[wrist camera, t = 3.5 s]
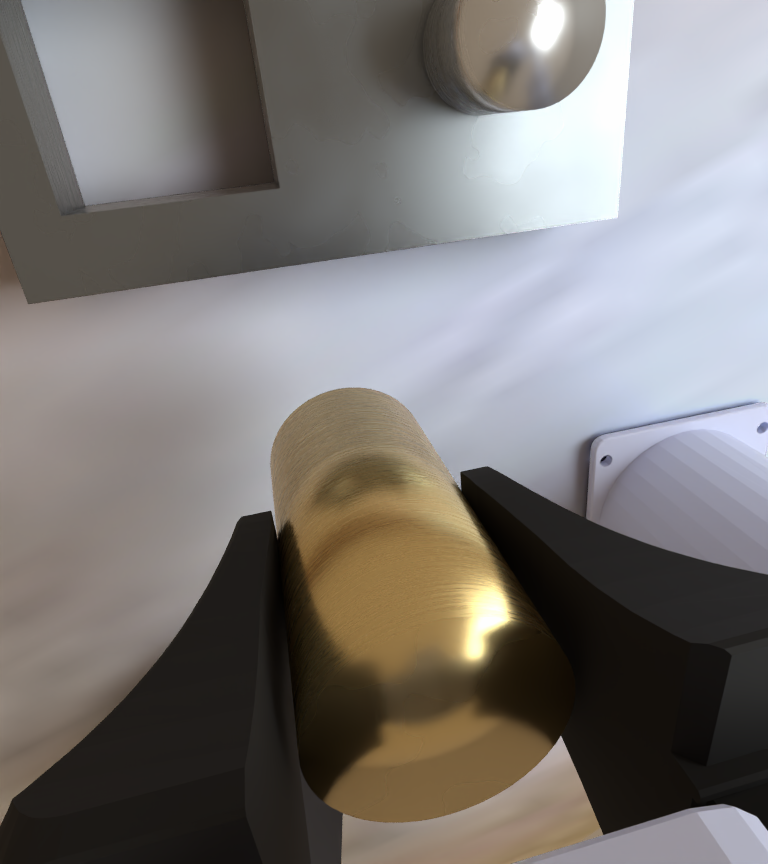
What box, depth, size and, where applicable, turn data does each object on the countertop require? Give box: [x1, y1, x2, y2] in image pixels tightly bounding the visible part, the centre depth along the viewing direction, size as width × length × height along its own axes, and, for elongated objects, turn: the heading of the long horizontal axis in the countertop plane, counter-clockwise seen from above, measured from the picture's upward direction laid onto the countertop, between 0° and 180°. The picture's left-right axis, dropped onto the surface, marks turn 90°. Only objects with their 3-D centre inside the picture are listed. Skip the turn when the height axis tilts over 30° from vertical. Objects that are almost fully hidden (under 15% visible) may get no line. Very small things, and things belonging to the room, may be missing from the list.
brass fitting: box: [270, 388, 575, 822], centre depth 12 cm, size 4×4×8 cm
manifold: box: [0, 0, 634, 304], centre depth 14 cm, size 9×16×6 cm, turn 96°
